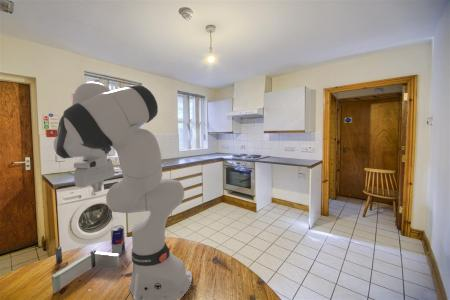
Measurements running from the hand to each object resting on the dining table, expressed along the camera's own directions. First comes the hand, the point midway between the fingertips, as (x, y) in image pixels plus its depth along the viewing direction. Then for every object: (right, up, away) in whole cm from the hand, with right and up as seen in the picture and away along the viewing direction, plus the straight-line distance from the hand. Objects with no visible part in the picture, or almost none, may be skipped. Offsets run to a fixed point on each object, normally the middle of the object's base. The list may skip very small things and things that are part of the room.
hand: (97, 191), depth 92 cm
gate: (0, -30, -14) cm, 33 cm away
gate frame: (-1, -30, -6) cm, 30 cm away
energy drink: (+8, -29, +3) cm, 30 cm away
